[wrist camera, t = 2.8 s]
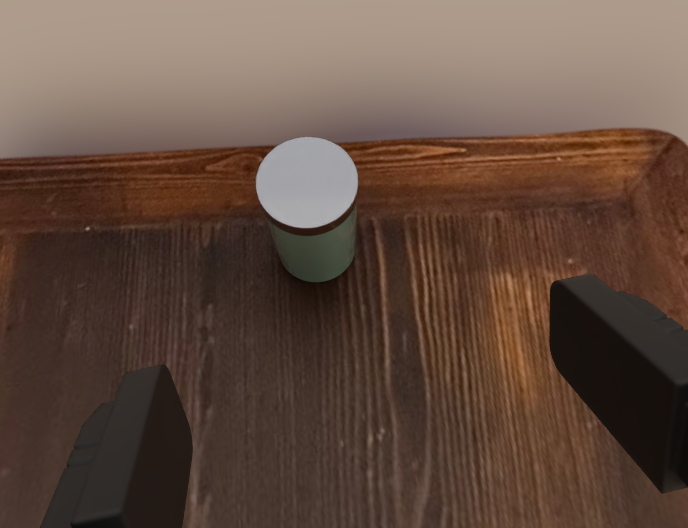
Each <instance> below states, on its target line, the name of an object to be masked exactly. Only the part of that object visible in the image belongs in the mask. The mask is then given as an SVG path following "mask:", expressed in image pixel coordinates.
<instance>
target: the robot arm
mask: <svg viewBox="0 0 688 528" xmlns="http://www.w3.org/2000/svg"><path fill="white" fill-rule="evenodd" d="M550 351H551V355H552V358H553V361H554V363H555V366H556V368H557V369H558V371H559V372H560V374H561V375H562V376H563V377H564V378H565V380H566V381H567V382H568V383H569V384H570V385H571V387H572V388H573V389H574V390H575V391H576V393H577V394H578V395H579V396H580V397H581V398H582V400H583V401H584V402H585V403H586V404H587V406H588V407H589V408H590V409H591V410H592V411H593V413H594V414H595V415H596V416H597V417H598V419H599V420H600V421H601V422H602V423H603V424H604V426H605V427H606V428H607V429H608V430H609V432H610V433H611V434H612V435H613V436H614V437H615V439H616V440H617V441H618V442H619V443H620V445H621V446H622V447H623V448H624V449H625V451H626V452H627V453H628V454H629V455H630V456H631V458H632V459H633V460H634V461H635V462H636V464H637V465H638V466H639V467H640V468H641V469H642V471H643V472H644V473H645V474H646V475H647V477H648V478H649V479H650V480H651V481H652V482H653V484H654V485H655V486H656V487H657V488H658V490H659V491H660V492H661V493H662V494H663V493H667V492H671V491H675V490H679V489H683V488H687V487H688V330H683V327H682V326H681V325H680V324H678V323H677V322H676V321H674V320H673V319H672V318H667V315H666V314H665V313H663V312H662V311H661V310H659V309H658V308H657V307H655V306H654V305H652V304H651V303H650V302H648V301H646V300H644V299H641V298H639V297H636V296H633V295H631V294H628V293H626V292H623V291H620V292H616V291H614V290H613V289H612V288H610V287H609V286H608V285H607V284H605V283H604V282H603V281H601V280H600V279H599V278H597V277H596V276H595V275H593V274H585V275H581V276H576V277H571V278H567V279H562V280H557V281H554V282H553V283H552V285H551V289H550ZM74 448H75V449H74V450H72V452H71V454H70V457H69V459H68V462H67V468H65V469H64V471H63V473H62V476H61V478H60V481H59V483H58V485H57V488H56V490H55V493H54V495H53V497H52V500H51V502H50V505H49V507H48V509H47V512H46V514H45V517H44V519H43V521H42V524H41V526H40V528H182V525H183V518H184V511H185V503H186V496H187V489H188V482H189V475H190V468H191V461H192V452H193V446H192V436H191V430H190V426H189V423H188V420H187V417H186V415H185V412H184V409H183V406H182V404H181V401H180V398H179V395H178V393H177V390H176V387H175V385H174V382H173V379H172V376H171V374H170V371H169V370H168V368H167V367H166V366H165V365H159V366H154V367H149V368H145V369H140V370H135V371H131V372H126V373H125V374H124V375H123V378H122V380H121V383H120V386H119V389H118V391H117V394H116V397H115V400H114V401H112V402H107V403H103V404H101V405H100V406H99V407H98V408H97V409H96V410H95V412H94V413H93V414H92V415H91V416H90V417H89V418H88V419H87V421H86V422H85V423H84V424H83V426H82V428H81V430H80V433H79V435H78V438H77V440H76V442H75V445H74Z"/></svg>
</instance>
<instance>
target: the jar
mask: <svg viewBox="0 0 688 528" xmlns="http://www.w3.org/2000/svg"><path fill="white" fill-rule="evenodd" d="M255 188H256V194H257V198H258V201H259V203H260V206H261V208H262V211H263V212H264V215H265V218H266V221H267V224H268V226H269V229H270V232H271V235H272V238H273V241H274V244H275V247H276V250H277V252H278V255H279V258H280V260H281V263H282V264H283V266H284V267H285V268H286V270H287V271H288V272H289V273H290V274H292V275H293V276H295V277H297V278H299V279H301V280H304V281H308V282H324V281H328V280H331V279H333V278H335V277H337V276H339V275H340V274H341V273H343V272H344V271H345V270H346V269H347V267H348V266H349V265H350V263H351V261H352V259H353V257H354V254H355V248H356V222H357V199H358V192H359V177H358V171H357V168H356V165H355V164H354V162H353V160H352V158H351V157H350V155H349V154H348V153H347V152H346V151H345V150H344V149H342V148H341V147H340V146H338V145H337V144H335V143H333V142H331V141H329V140H326V139H323V138H318V137H298V138H294V139H290V140H288V141H285V142H283V143H281V144H279V145H278V146H276V147H275V148H273V149H272V150H271V151H270V152H269V153H268V154H267V155H266V156H265V158H264V159H263V160H262V162H261V164H260V166H259V168H258V171H257V174H256V179H255Z"/></svg>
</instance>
